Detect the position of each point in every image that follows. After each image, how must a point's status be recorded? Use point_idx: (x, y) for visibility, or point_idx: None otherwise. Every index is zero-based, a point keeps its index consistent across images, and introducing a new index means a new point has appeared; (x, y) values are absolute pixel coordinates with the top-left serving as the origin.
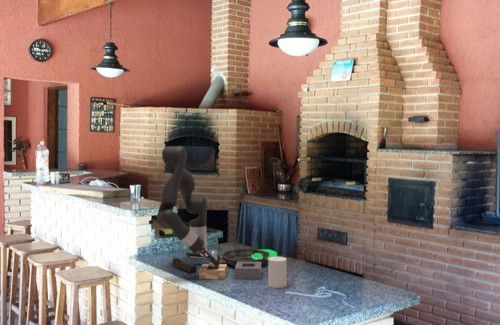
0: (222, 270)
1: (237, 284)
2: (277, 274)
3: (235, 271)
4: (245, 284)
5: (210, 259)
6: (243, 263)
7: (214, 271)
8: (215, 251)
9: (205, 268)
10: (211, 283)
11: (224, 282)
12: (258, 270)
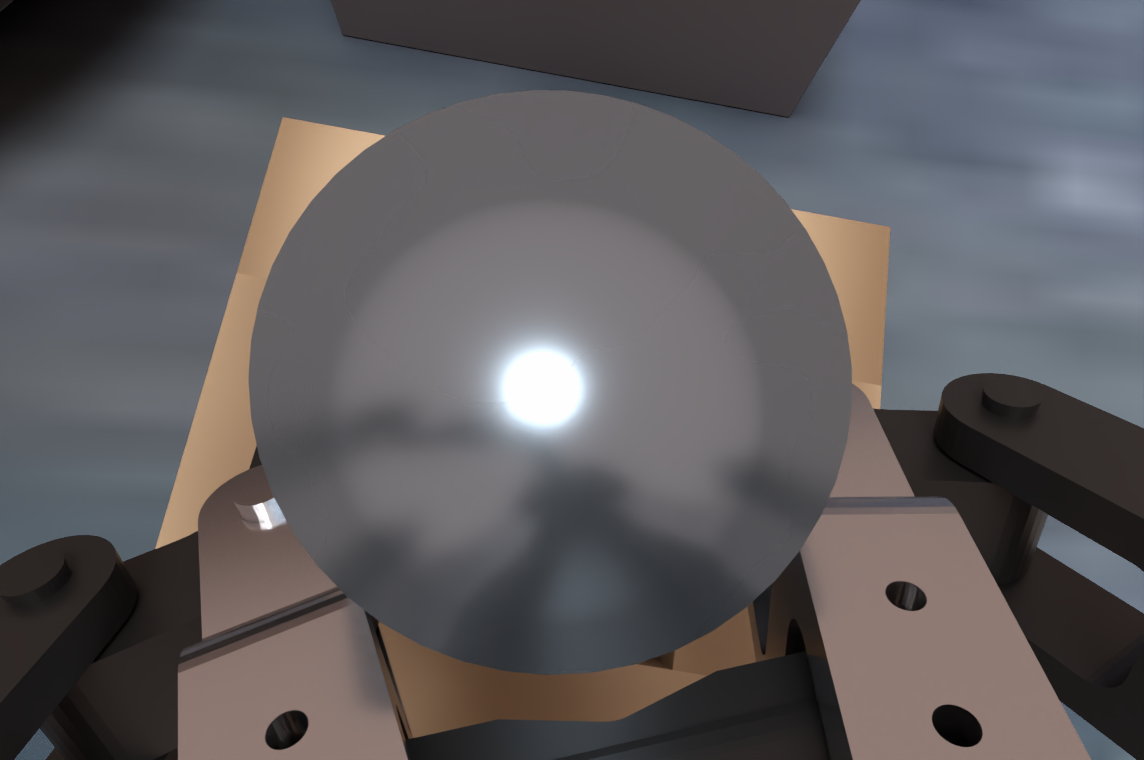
0: (847, 261)
1: (1092, 116)
2: None
3: (845, 14)
4: (1087, 6)
5: (1019, 558)
6: None
7: None
8: (713, 197)
9: (621, 706)
10: (1054, 549)
11: (990, 308)
12: None
